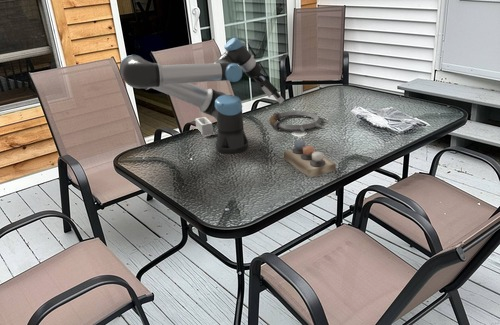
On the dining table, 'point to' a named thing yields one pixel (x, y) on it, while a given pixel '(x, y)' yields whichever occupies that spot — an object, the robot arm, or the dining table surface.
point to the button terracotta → (308, 150)
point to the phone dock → (204, 126)
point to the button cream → (317, 156)
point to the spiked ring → (279, 125)
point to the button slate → (299, 144)
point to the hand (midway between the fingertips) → (276, 98)
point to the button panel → (308, 162)
